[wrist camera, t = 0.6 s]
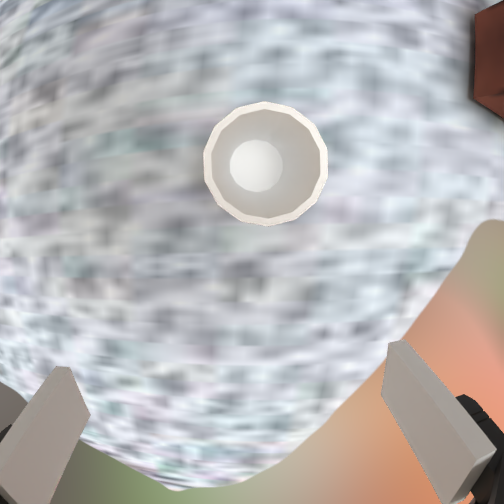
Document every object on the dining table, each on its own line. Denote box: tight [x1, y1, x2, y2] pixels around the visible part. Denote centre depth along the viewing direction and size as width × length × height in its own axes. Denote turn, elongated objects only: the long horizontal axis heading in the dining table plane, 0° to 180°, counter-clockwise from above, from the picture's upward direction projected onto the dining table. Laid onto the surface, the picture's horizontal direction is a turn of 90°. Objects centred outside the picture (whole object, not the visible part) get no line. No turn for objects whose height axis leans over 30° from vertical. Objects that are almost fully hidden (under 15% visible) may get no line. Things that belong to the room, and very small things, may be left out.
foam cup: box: [203, 101, 328, 227], centre depth 30 cm, size 10×9×13 cm
